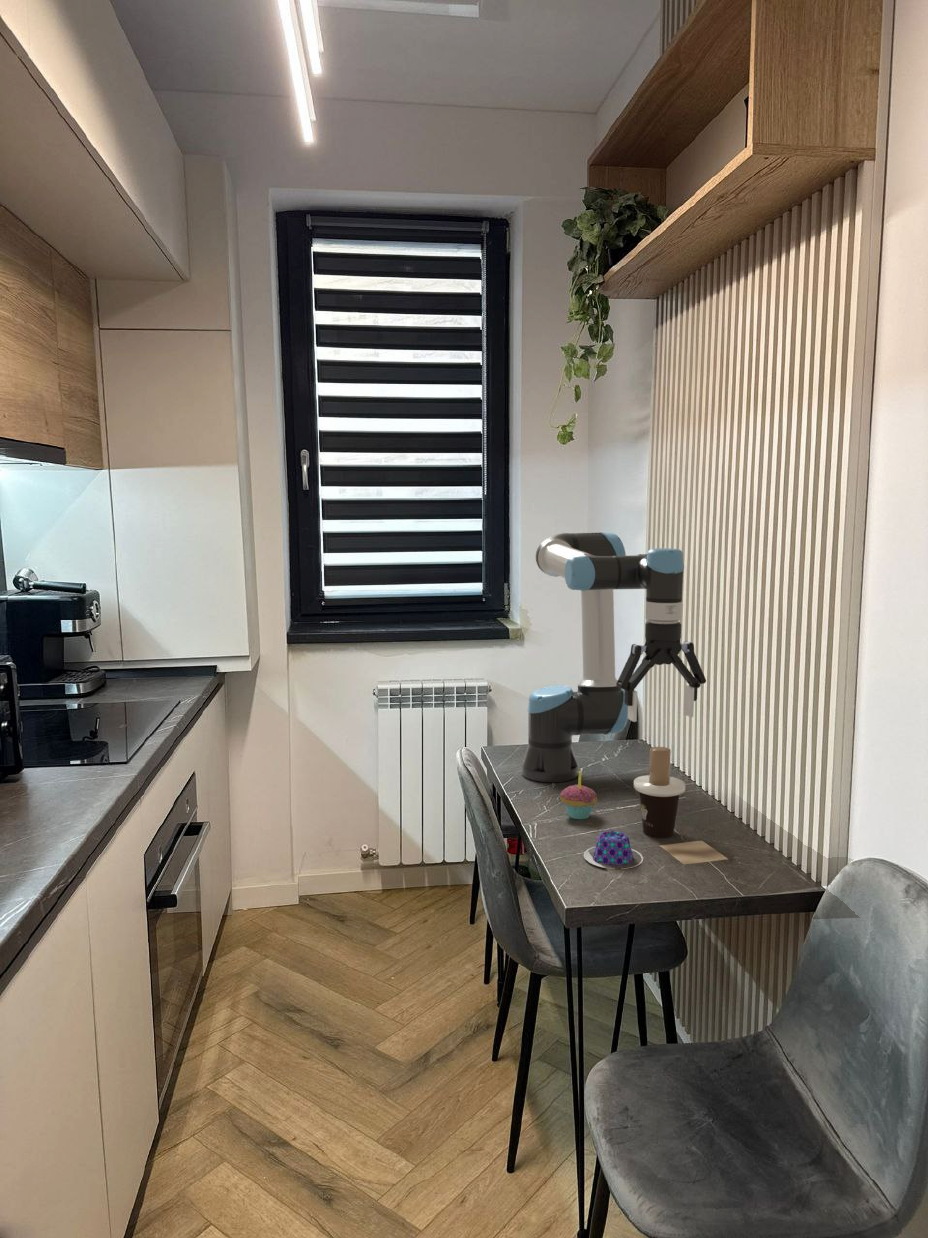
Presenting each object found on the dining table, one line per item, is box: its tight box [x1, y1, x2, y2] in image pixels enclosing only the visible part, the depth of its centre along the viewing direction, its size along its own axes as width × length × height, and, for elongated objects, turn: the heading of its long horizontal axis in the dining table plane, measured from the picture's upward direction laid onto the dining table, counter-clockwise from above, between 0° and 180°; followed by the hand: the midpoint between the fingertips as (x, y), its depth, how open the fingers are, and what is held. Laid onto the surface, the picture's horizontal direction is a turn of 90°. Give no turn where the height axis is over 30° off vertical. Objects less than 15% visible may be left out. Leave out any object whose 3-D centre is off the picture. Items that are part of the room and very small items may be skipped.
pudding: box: [583, 830, 644, 870], centre depth 172 cm, size 12×12×5 cm
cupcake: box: [559, 768, 598, 820], centre depth 195 cm, size 9×8×12 cm
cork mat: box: [659, 840, 729, 866], centre depth 174 cm, size 10×10×1 cm
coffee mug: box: [638, 792, 680, 839], centre depth 185 cm, size 12×9×10 cm
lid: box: [633, 746, 686, 796], centre depth 184 cm, size 11×11×9 cm
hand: (660, 718), depth 183 cm, fingers open, 13 cm apart
